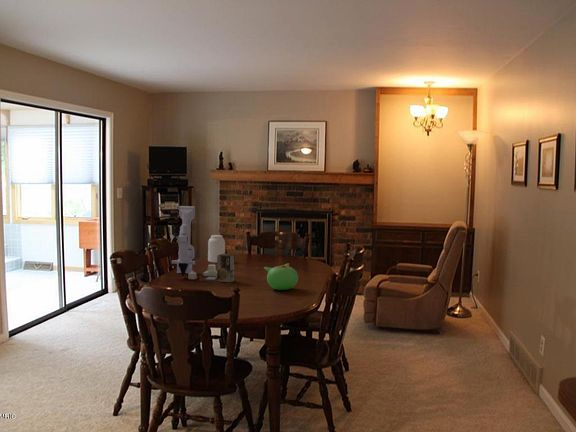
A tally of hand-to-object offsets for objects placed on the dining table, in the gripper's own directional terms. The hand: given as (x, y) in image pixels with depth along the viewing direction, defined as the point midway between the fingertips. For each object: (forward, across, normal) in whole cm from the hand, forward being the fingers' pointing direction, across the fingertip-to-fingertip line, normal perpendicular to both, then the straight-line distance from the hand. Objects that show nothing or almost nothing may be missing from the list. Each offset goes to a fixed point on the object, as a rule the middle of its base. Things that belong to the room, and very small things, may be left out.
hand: (183, 275), depth 316 cm
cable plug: (+2, +6, 0) cm, 6 cm away
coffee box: (+2, +28, -3) cm, 28 cm away
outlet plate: (+2, +16, +14) cm, 21 cm away
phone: (+2, +18, 0) cm, 18 cm away
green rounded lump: (+2, +65, -19) cm, 68 cm away
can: (+2, +3, +67) cm, 67 cm away
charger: (+1, +14, +13) cm, 20 cm away
